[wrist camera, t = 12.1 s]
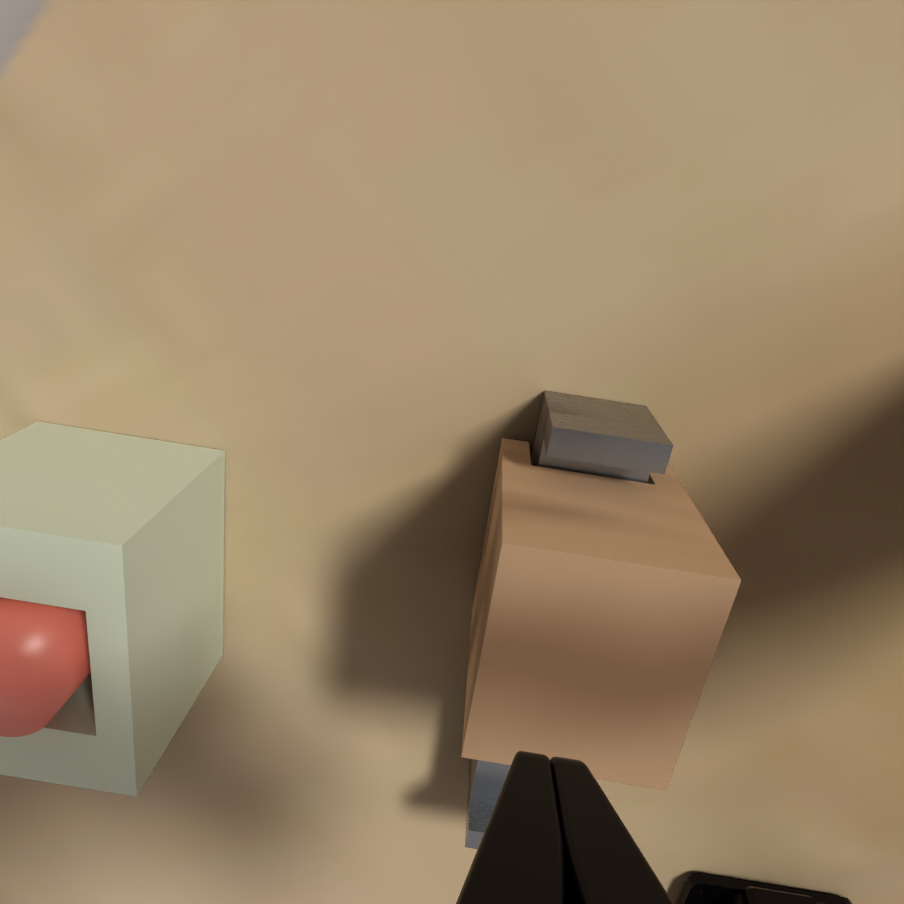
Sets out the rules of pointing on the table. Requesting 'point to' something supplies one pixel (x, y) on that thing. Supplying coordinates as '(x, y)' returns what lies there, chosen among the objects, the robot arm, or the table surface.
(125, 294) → the table surface
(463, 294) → the table surface
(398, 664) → the table surface
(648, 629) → the block
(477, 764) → the rail
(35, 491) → the cabinet
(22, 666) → the gauge button
